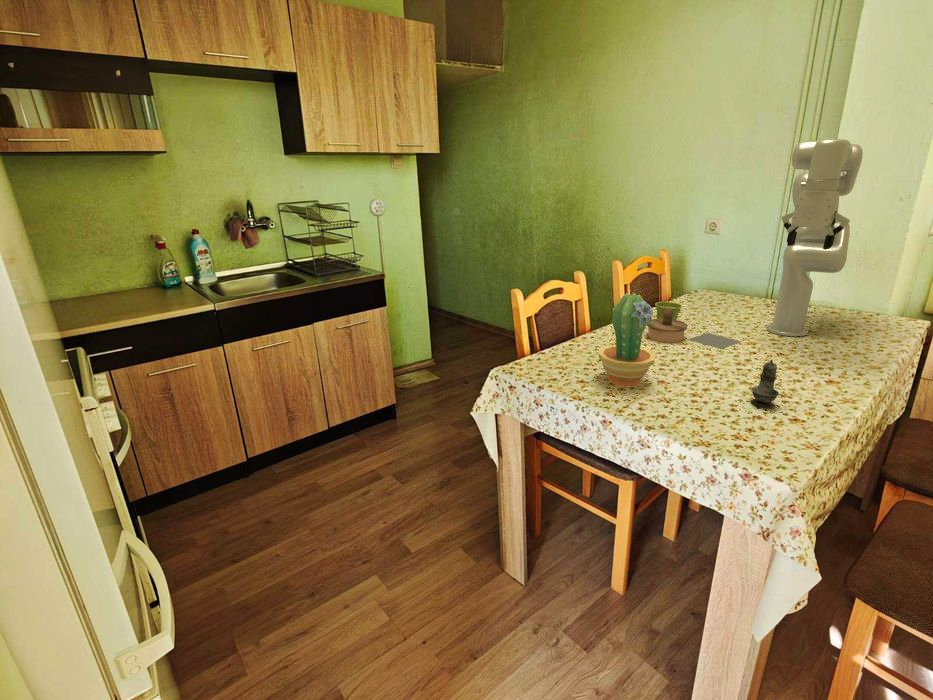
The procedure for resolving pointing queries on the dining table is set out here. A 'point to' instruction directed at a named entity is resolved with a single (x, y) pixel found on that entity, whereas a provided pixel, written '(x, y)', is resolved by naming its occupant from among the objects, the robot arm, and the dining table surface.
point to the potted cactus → (628, 342)
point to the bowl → (665, 336)
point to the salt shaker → (766, 387)
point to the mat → (714, 340)
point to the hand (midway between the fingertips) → (808, 247)
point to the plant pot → (667, 305)
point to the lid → (667, 323)
